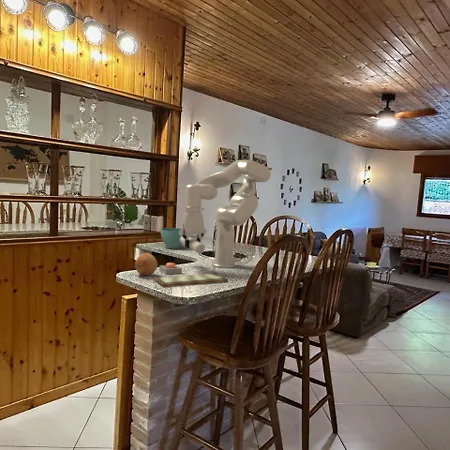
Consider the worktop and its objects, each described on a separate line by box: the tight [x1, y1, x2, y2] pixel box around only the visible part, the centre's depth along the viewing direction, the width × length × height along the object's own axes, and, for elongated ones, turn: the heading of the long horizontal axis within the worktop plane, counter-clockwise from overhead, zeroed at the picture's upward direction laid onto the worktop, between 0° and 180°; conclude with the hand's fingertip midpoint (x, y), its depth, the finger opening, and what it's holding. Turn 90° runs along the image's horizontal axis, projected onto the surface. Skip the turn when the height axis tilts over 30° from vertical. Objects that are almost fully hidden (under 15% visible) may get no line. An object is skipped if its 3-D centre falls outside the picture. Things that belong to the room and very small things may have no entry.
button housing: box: [159, 264, 183, 275], centre depth 178 cm, size 8×8×2 cm
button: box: [166, 262, 176, 268], centre depth 178 cm, size 4×4×3 cm
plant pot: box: [160, 227, 185, 250], centre depth 248 cm, size 18×18×12 cm
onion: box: [134, 252, 158, 276], centre depth 168 cm, size 10×10×10 cm
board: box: [153, 273, 229, 288], centre depth 163 cm, size 30×11×1 cm, turn 121°
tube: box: [180, 236, 206, 254], centre depth 185 cm, size 5×5×25 cm
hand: (192, 247), depth 185 cm, fingers closed on tube, 5 cm apart
